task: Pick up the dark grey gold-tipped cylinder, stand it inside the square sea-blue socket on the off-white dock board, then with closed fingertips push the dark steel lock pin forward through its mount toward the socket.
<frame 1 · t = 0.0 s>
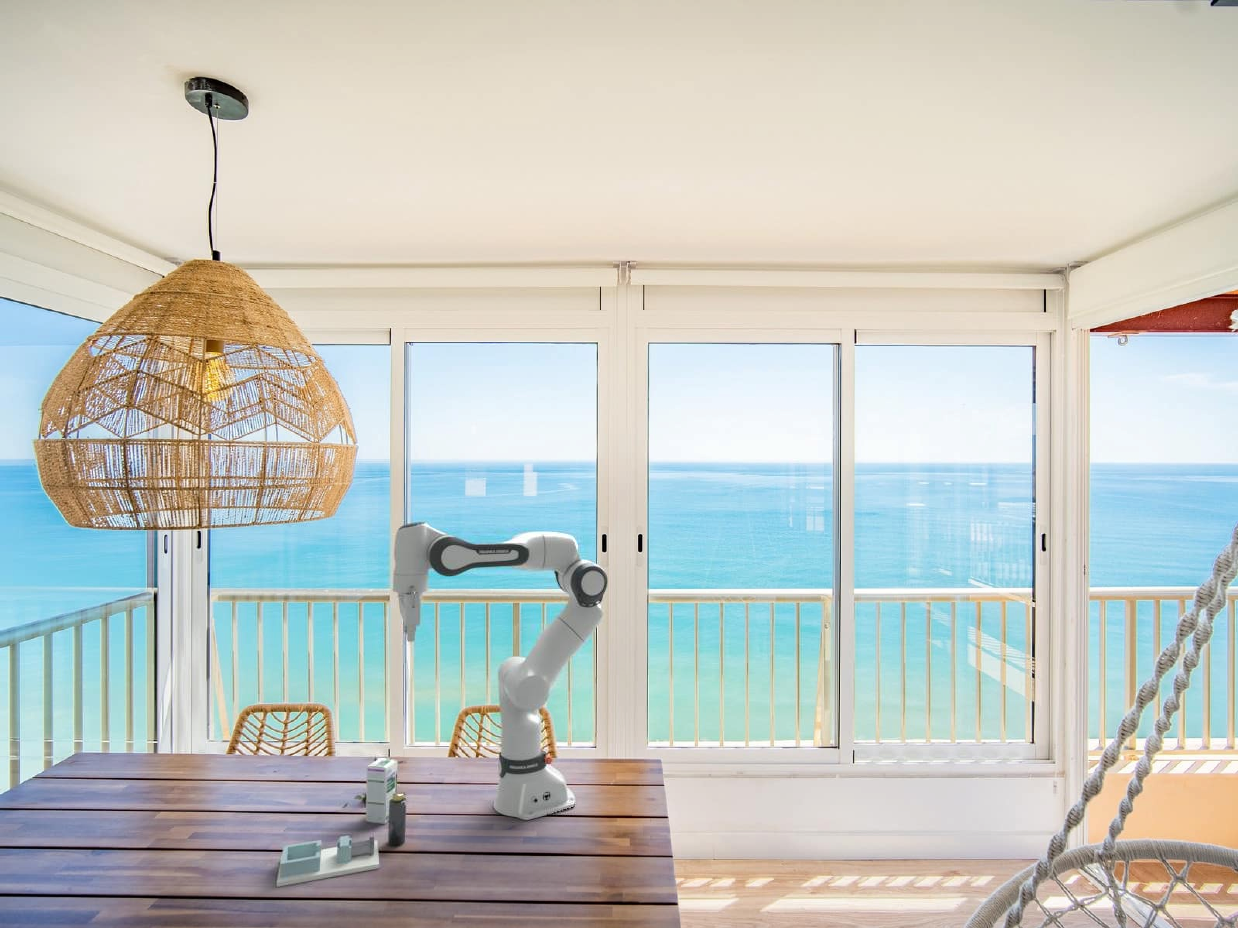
hand: (409, 637, 176), 48 cm above the table, fingers open, 8 cm apart
dock: (325, 865, 155), on the table
dark grey gold-tipped cylinder: (396, 842, 165), on the table
eiffel tower figurine: (375, 803, 187), on the table
lock pin: (355, 848, 157), point 3 cm above the table, slide at 0.0 cm
syrup box: (381, 818, 177), on the table
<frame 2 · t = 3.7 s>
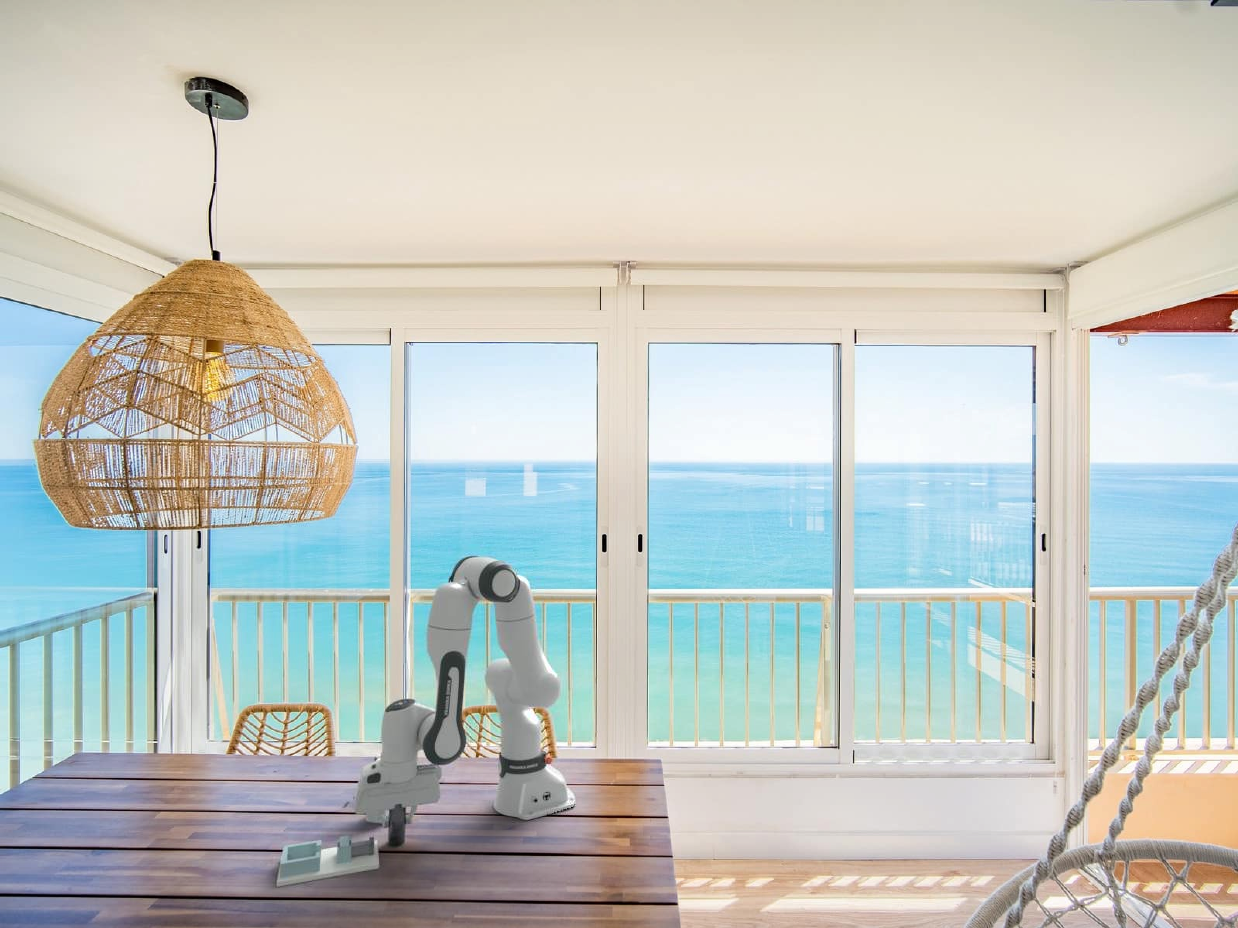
hand: (397, 825, 165), 4 cm above the table, fingers closed on dark grey gold-tipped cylinder, 4 cm apart
dark grey gold-tipped cylinder: (396, 842, 165), on the table, touching gripper
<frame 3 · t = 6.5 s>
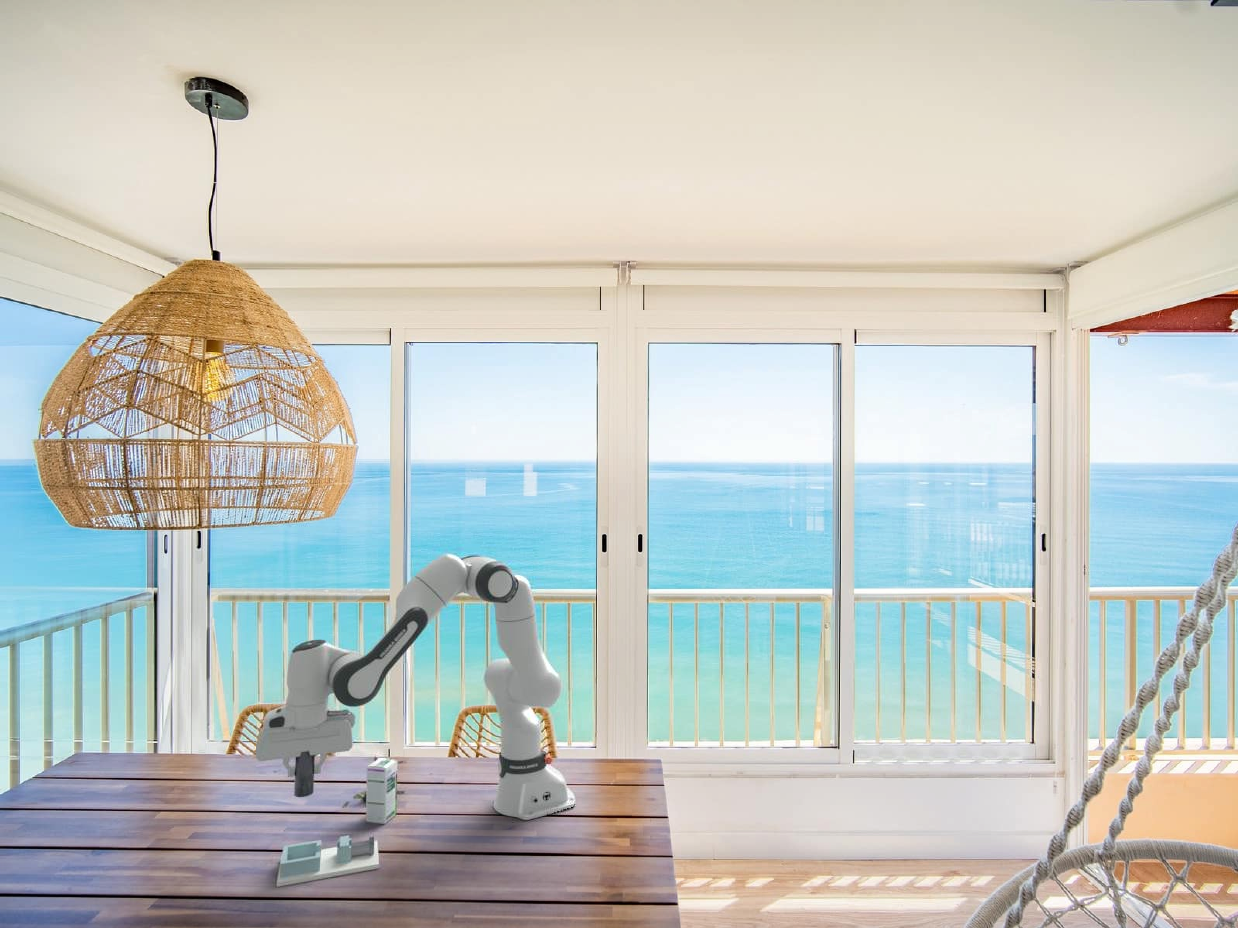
hand: (304, 774, 154), 21 cm above the table, fingers closed on dark grey gold-tipped cylinder, 4 cm apart
dark grey gold-tipped cylinder: (303, 793, 153), point 17 cm above the table, touching gripper
when the fingers open (7 cm above the table, at t = 9.5 s): dark grey gold-tipped cylinder drops 1 cm, resting on dock.
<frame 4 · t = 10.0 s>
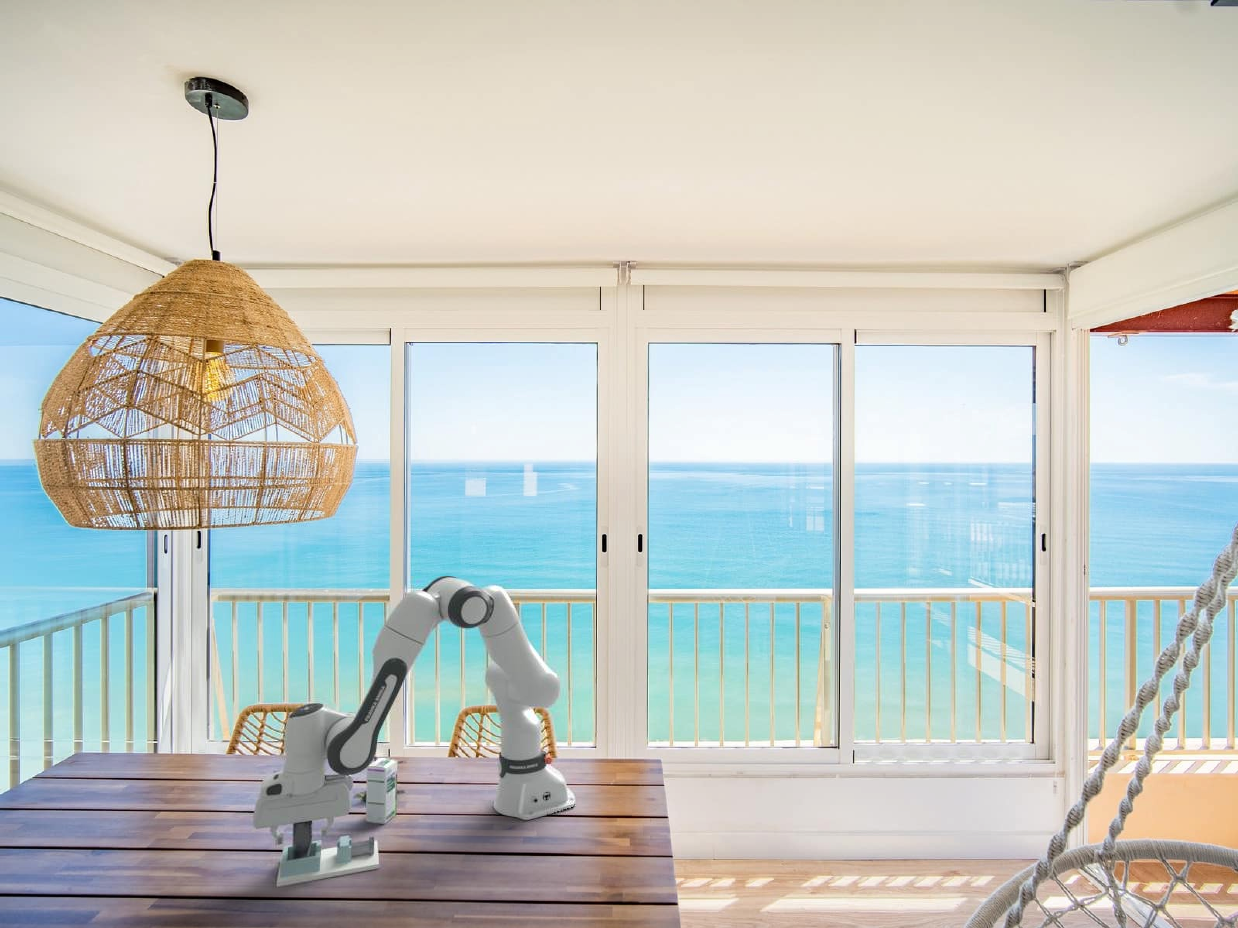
hand: (302, 840, 153), 7 cm above the table, fingers open, 8 cm apart
dark grey gold-tipped cylinder: (301, 864, 153), point 1 cm above the table, touching dock
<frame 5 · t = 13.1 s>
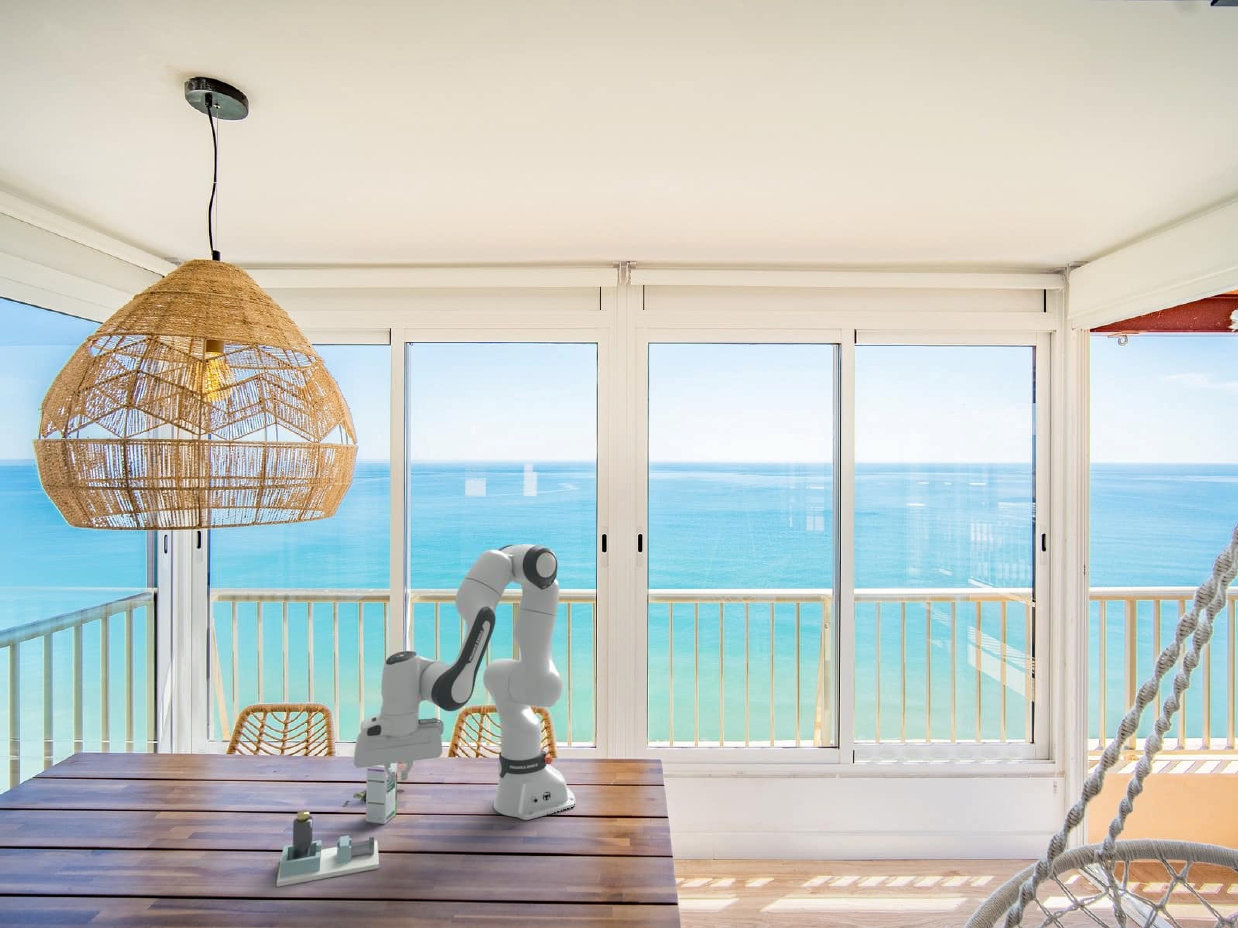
hand: (398, 780, 161), 17 cm above the table, fingers closed
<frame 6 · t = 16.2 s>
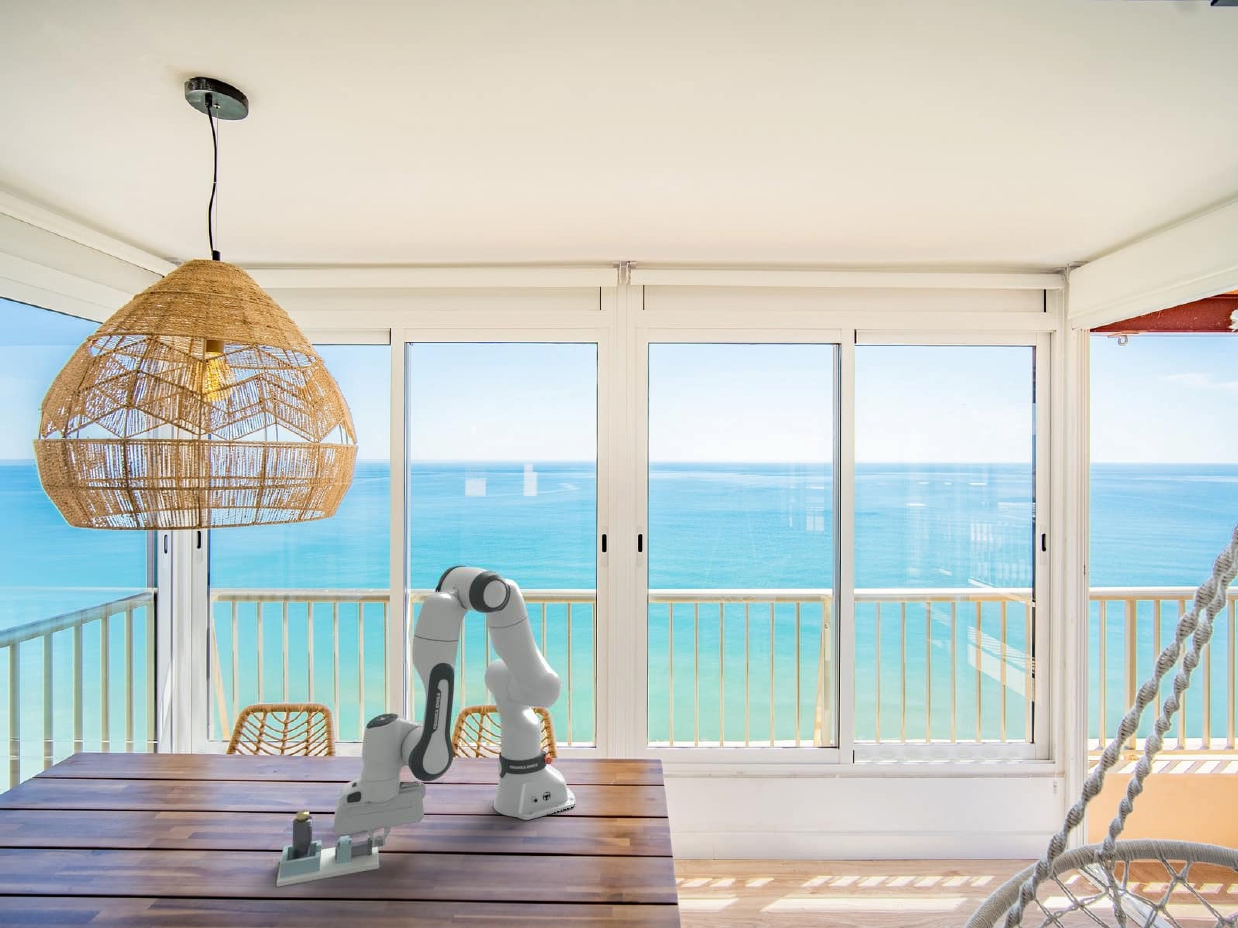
hand: (378, 845, 159), 2 cm above the table, fingers closed
lock pin: (353, 849, 157), point 3 cm above the table, slide at 0.4 cm, touching gripper
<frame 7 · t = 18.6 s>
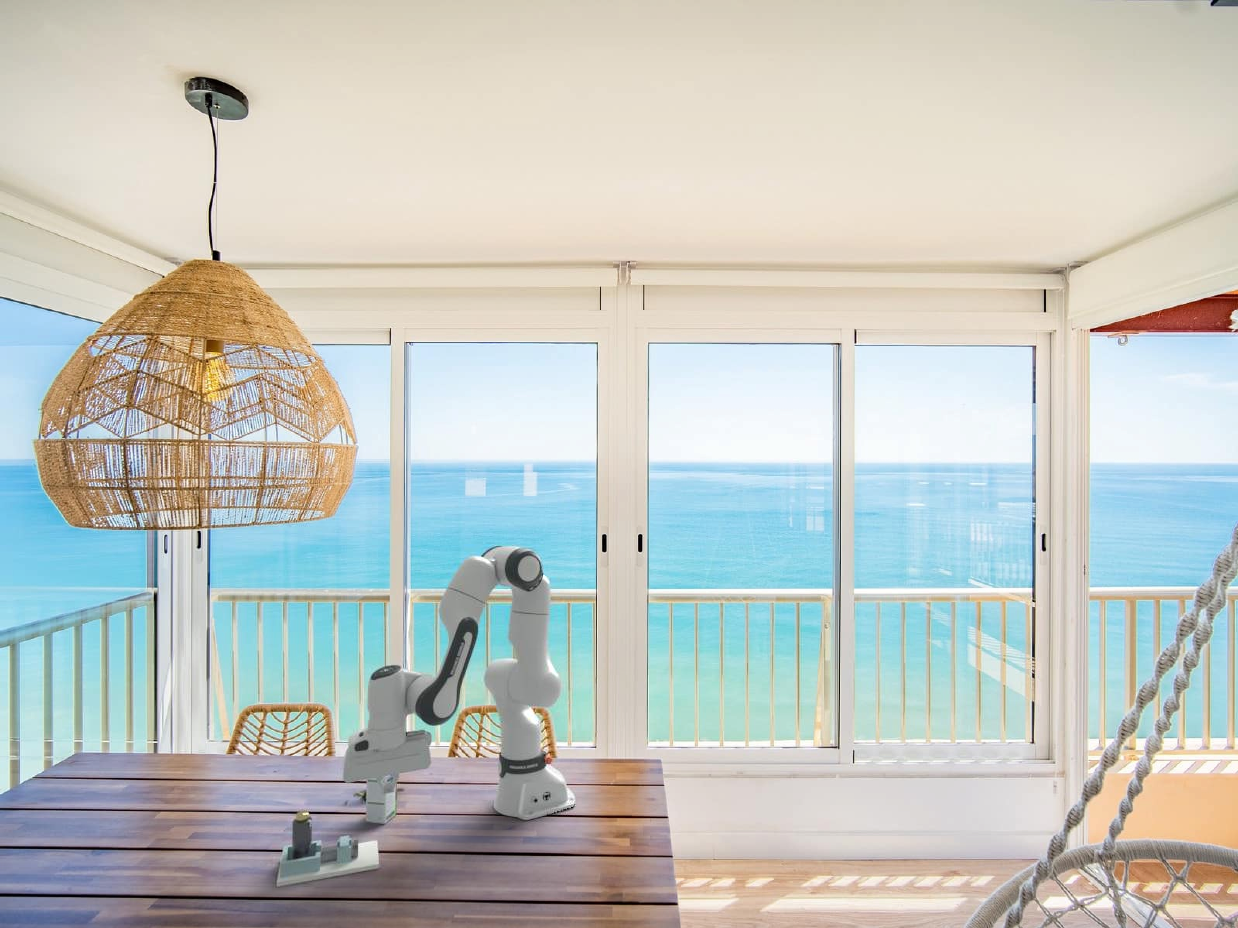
hand: (388, 792, 163), 13 cm above the table, fingers closed
lock pin: (339, 851, 156), point 3 cm above the table, slide at 3.5 cm
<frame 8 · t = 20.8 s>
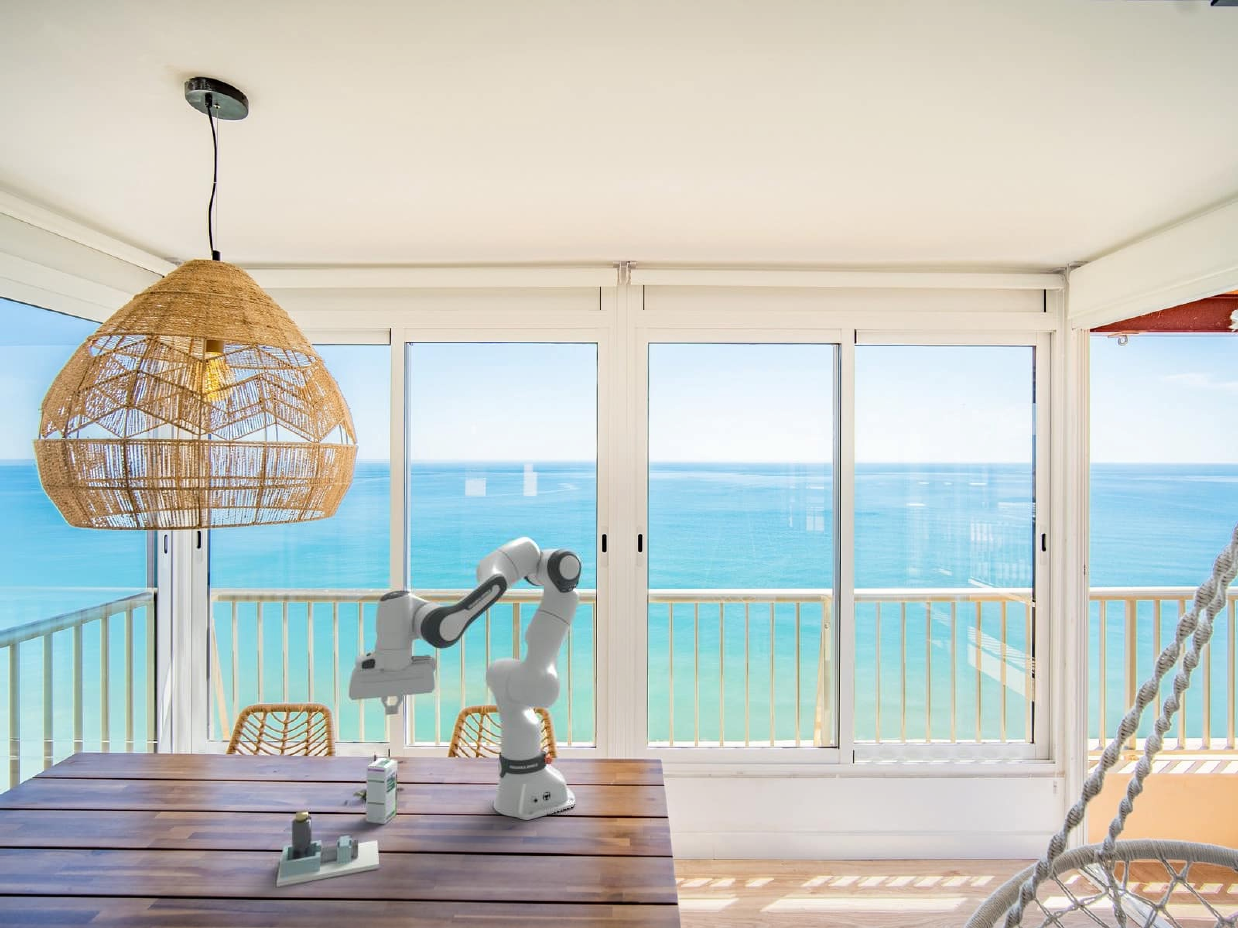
hand: (391, 713, 167), 31 cm above the table, fingers closed
at the end: dark grey gold-tipped cylinder inside the target area on the dock (0.1 cm from its centre), point 1.1 cm above the dock's base; dark grey gold-tipped cylinder tilted 2°; lock pin slide at 3.5 cm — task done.
